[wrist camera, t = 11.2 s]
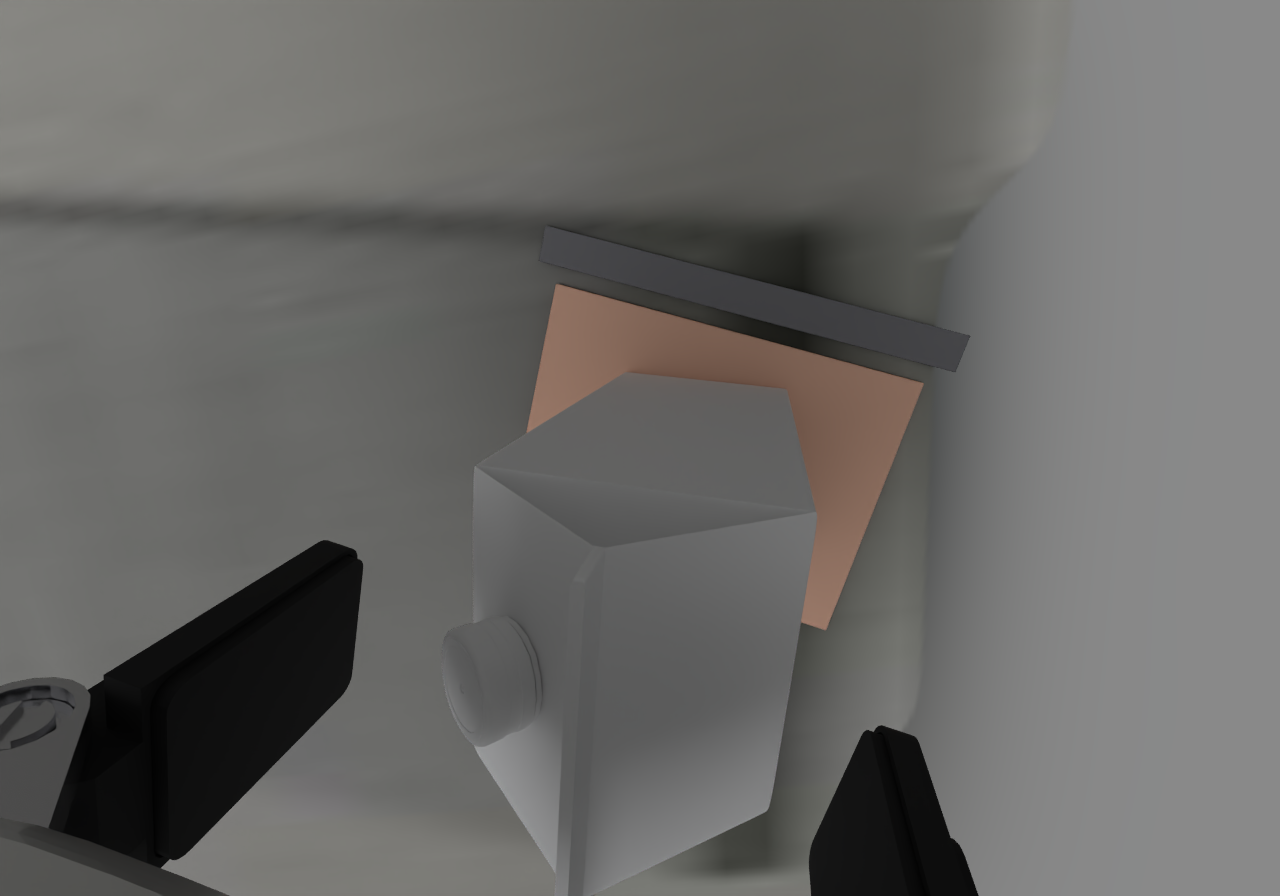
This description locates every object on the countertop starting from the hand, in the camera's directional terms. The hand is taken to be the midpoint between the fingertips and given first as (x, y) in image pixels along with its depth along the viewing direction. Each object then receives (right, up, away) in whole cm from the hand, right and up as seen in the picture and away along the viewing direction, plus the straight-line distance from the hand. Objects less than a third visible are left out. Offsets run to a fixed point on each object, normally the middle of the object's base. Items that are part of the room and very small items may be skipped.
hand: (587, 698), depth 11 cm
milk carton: (+3, +4, +17) cm, 18 cm away
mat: (+3, +4, +17) cm, 18 cm away
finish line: (+5, +11, +15) cm, 19 cm away
